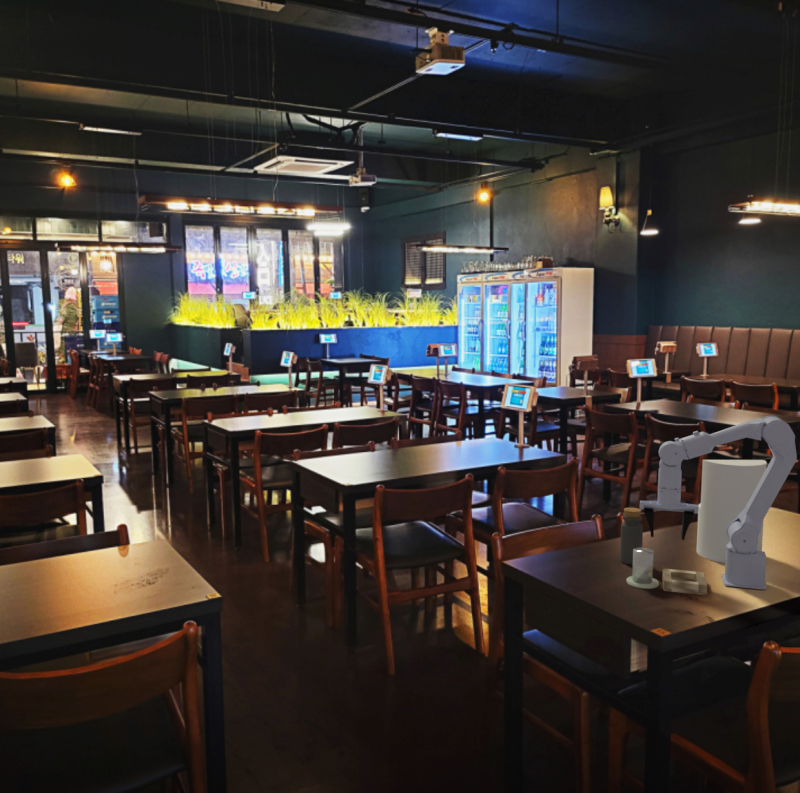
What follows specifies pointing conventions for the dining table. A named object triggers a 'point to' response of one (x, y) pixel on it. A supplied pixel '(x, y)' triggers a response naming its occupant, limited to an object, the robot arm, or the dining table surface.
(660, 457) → the robot arm
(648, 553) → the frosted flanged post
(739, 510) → the cylinder
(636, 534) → the bottle
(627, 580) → the coaster
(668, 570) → the collar
